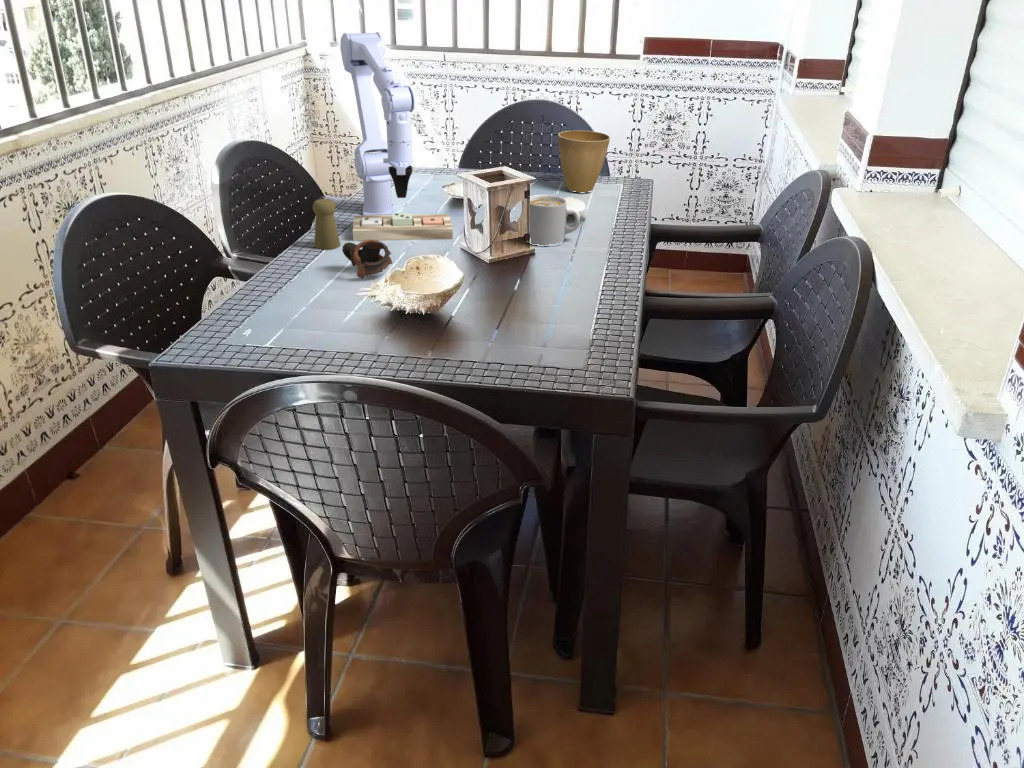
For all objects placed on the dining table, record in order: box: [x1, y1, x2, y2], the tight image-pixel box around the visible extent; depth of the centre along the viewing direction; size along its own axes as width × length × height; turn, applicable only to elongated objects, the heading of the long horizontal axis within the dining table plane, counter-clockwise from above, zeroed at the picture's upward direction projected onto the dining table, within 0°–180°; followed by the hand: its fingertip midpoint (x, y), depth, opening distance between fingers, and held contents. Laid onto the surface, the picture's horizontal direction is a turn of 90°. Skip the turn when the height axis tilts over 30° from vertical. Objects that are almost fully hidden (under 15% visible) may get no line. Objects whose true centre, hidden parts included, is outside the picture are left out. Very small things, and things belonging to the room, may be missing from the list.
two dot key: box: [362, 218, 382, 226], centre depth 203 cm, size 5×5×3 cm
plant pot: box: [557, 129, 611, 192], centre depth 239 cm, size 15×15×16 cm
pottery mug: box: [341, 240, 393, 280], centre depth 179 cm, size 12×10×8 cm
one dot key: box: [423, 217, 443, 225], centre depth 205 cm, size 5×5×3 cm
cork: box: [312, 198, 341, 251], centre depth 192 cm, size 6×6×11 cm
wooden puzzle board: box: [352, 213, 454, 242], centre depth 204 cm, size 12×24×2 cm, turn 98°
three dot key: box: [392, 212, 413, 226], centre depth 204 cm, size 5×5×3 cm
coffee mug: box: [529, 194, 581, 245], centre depth 200 cm, size 13×10×10 cm
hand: (401, 197), depth 201 cm, fingers closed
